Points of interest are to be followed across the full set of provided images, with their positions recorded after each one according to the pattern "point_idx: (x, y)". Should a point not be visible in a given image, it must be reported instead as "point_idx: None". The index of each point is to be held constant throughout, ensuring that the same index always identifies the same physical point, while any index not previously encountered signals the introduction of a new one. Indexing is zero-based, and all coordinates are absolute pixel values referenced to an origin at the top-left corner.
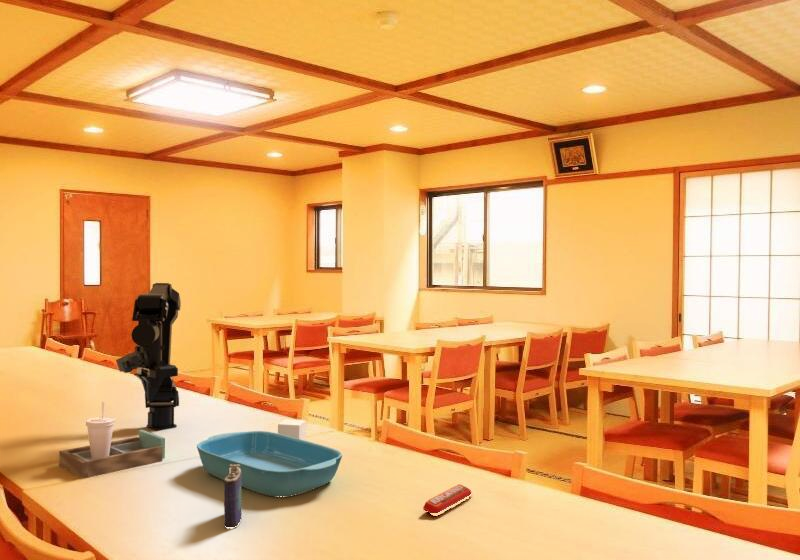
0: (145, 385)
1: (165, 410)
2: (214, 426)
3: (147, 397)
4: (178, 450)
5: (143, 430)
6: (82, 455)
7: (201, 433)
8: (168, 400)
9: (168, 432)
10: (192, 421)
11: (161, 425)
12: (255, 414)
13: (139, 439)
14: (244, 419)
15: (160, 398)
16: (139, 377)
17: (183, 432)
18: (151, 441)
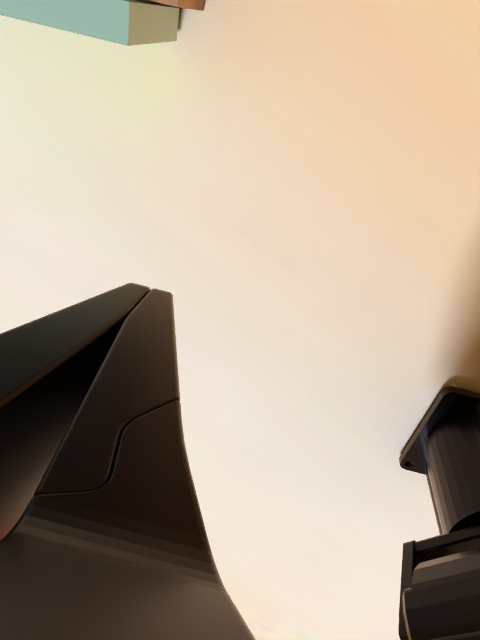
0: (73, 428)
1: (451, 507)
2: (260, 507)
3: (143, 301)
4: (24, 170)
5: (93, 28)
6: None
7: (214, 425)
8: (425, 565)
9: (362, 385)
10: (404, 532)
11: (446, 425)
12: (268, 627)
13: (141, 1)
14: (247, 586)
15: (477, 564)
16: (11, 622)
17: (296, 410)
18: None
